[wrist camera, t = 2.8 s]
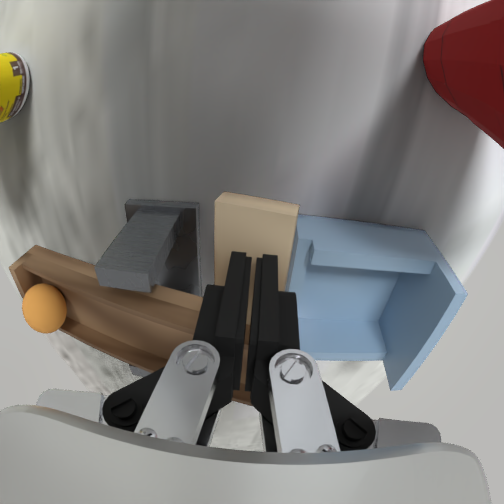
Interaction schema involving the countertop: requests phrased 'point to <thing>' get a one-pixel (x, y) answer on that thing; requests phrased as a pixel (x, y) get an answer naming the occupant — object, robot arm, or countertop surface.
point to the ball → (44, 308)
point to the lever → (162, 287)
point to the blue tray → (370, 293)
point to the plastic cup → (471, 65)
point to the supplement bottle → (12, 84)
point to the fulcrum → (154, 251)
